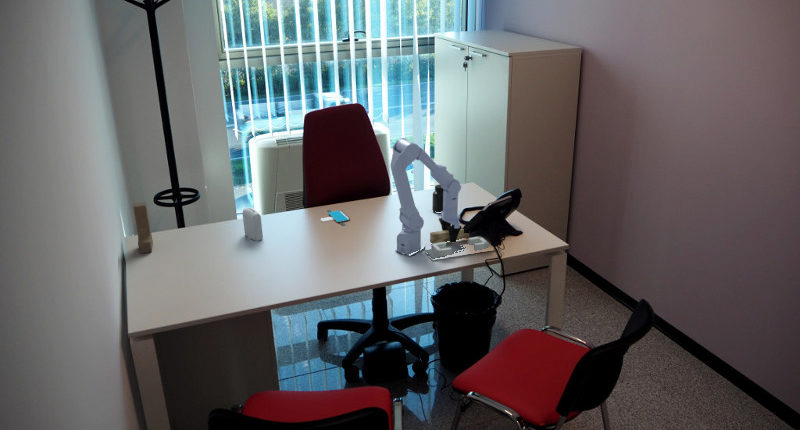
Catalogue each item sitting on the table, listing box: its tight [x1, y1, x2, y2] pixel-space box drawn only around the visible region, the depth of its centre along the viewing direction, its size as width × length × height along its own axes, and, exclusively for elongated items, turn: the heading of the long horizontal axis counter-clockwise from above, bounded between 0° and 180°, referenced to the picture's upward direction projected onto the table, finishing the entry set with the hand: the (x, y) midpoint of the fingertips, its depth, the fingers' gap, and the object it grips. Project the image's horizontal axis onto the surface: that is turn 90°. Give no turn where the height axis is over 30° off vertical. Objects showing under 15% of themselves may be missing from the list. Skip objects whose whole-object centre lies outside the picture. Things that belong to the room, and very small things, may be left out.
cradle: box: [424, 235, 490, 259], centre depth 247 cm, size 26×8×4 cm, turn 109°
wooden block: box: [132, 201, 154, 254], centre depth 250 cm, size 9×4×18 cm, turn 16°
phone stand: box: [320, 209, 351, 227], centre depth 281 cm, size 20×12×2 cm, turn 25°
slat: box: [429, 226, 470, 244], centre depth 256 cm, size 16×2×5 cm, turn 110°
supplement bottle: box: [431, 184, 444, 212], centre depth 286 cm, size 7×7×12 cm
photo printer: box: [242, 207, 264, 242], centre depth 261 cm, size 10×4×12 cm, turn 39°
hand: (449, 238), depth 256 cm, fingers open, 6 cm apart
